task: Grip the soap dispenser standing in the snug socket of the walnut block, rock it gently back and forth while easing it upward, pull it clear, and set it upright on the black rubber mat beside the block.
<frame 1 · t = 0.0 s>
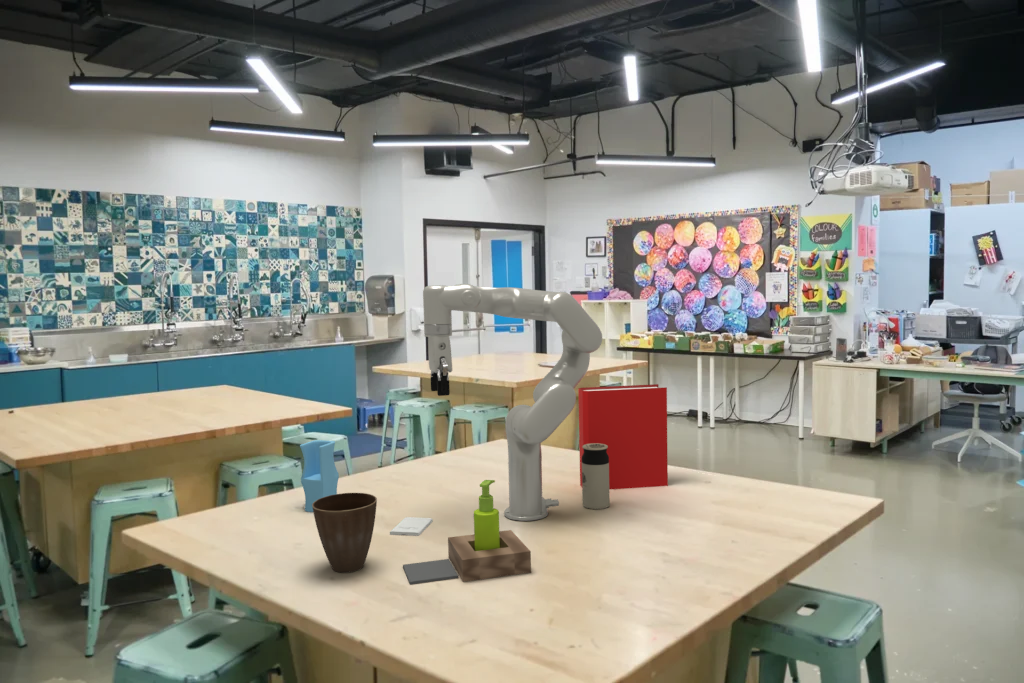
hand: (440, 393, 208), 37 cm above the table, tool pointing down, fingers open, 9 cm apart
light blue angular piece: (321, 509, 229), on the table
soap dispenser: (488, 565, 180), resting in socket block
external hard drive: (411, 530, 209), on the table
travel mug: (596, 506, 225), on the table
rubber mat: (430, 572, 176), on the table
socket block: (488, 564, 180), on the table
plant pot: (347, 568, 180), on the table
book: (623, 485, 247), on the table
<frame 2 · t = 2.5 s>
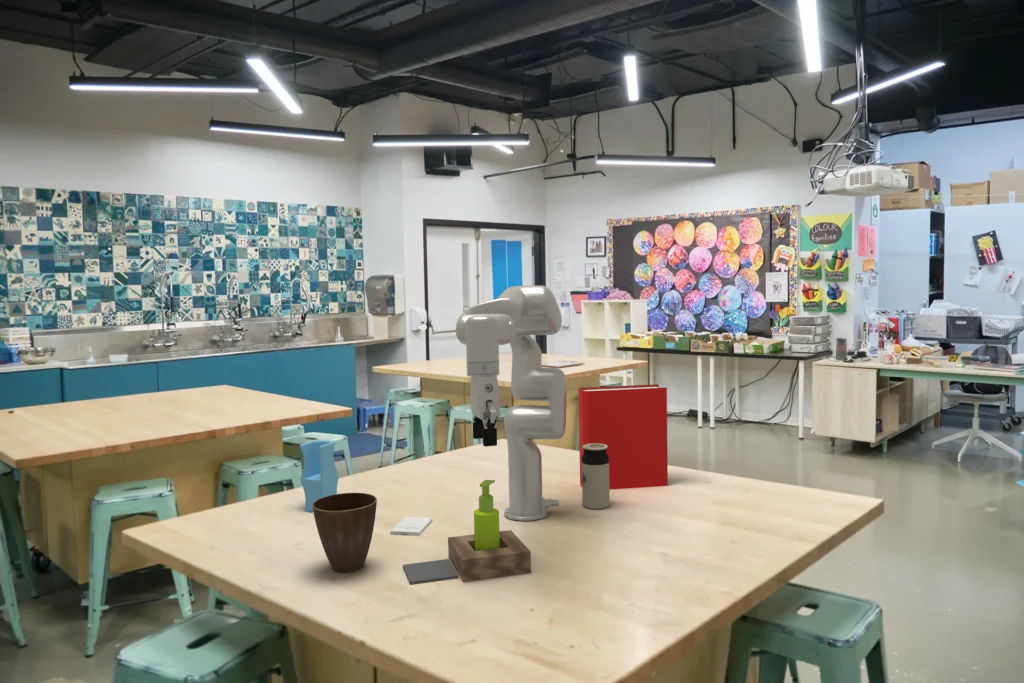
hand: (484, 442, 177), 30 cm above the table, tool pointing down, fingers open, 9 cm apart
nothing on the table moved.
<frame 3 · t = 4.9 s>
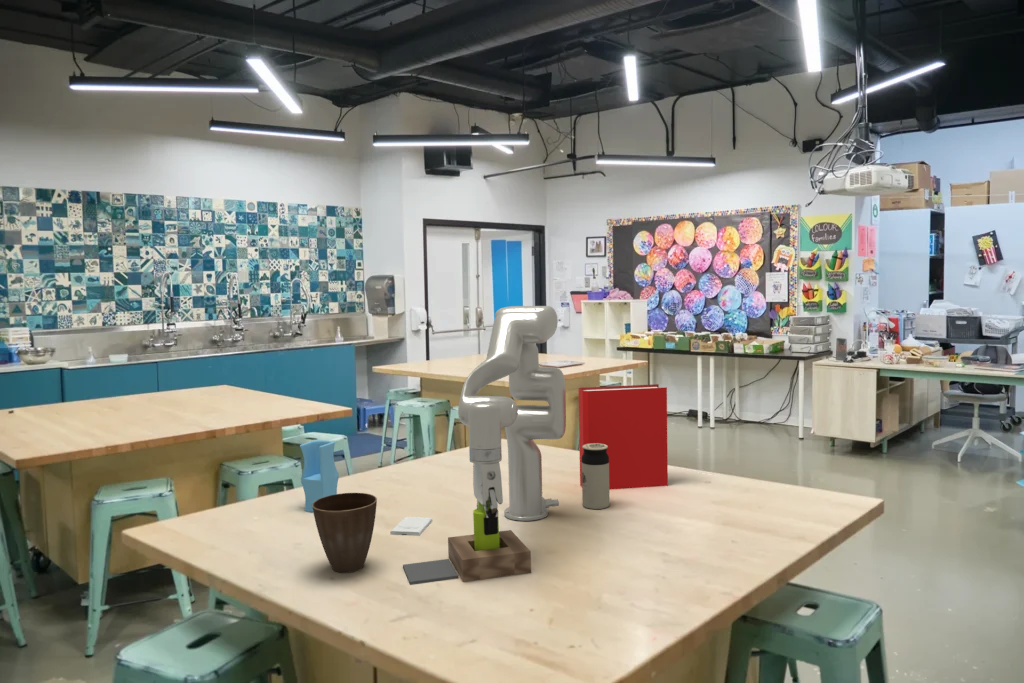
hand: (487, 529, 179), 9 cm above the table, tool pointing down, fingers closed on soap dispenser, 5 cm apart
soap dispenser: (488, 565, 180), resting in socket block, touching gripper
everything else where it was.
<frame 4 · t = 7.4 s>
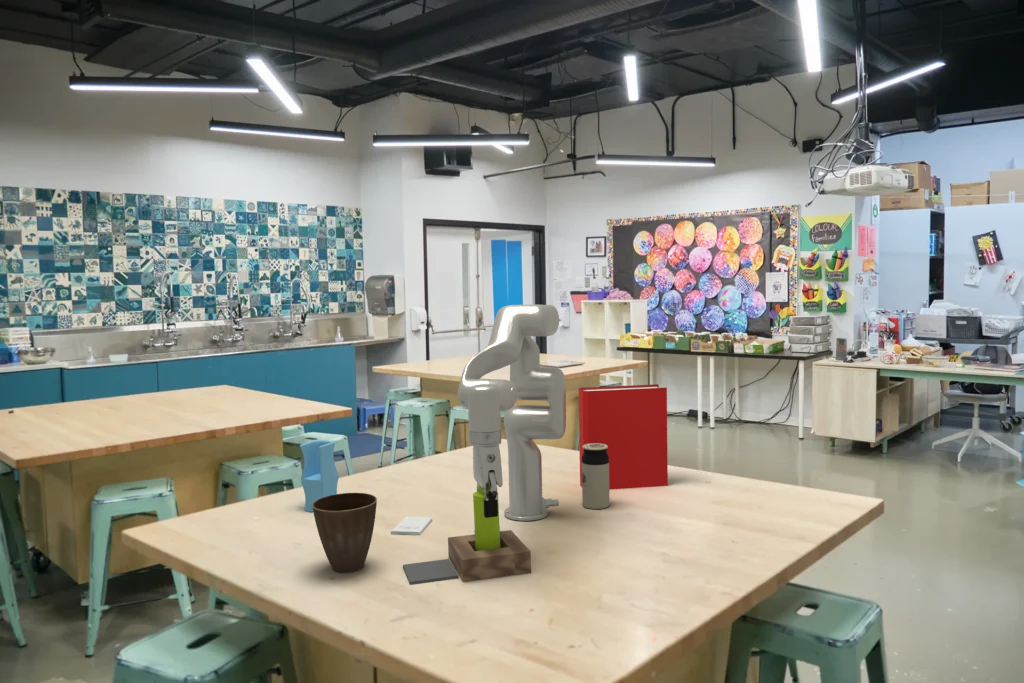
hand: (487, 511, 179), 13 cm above the table, tool pointing down, fingers closed on soap dispenser, 5 cm apart
soap dispenser: (488, 548, 180), point 4 cm above the table, touching gripper
everything else where it was.
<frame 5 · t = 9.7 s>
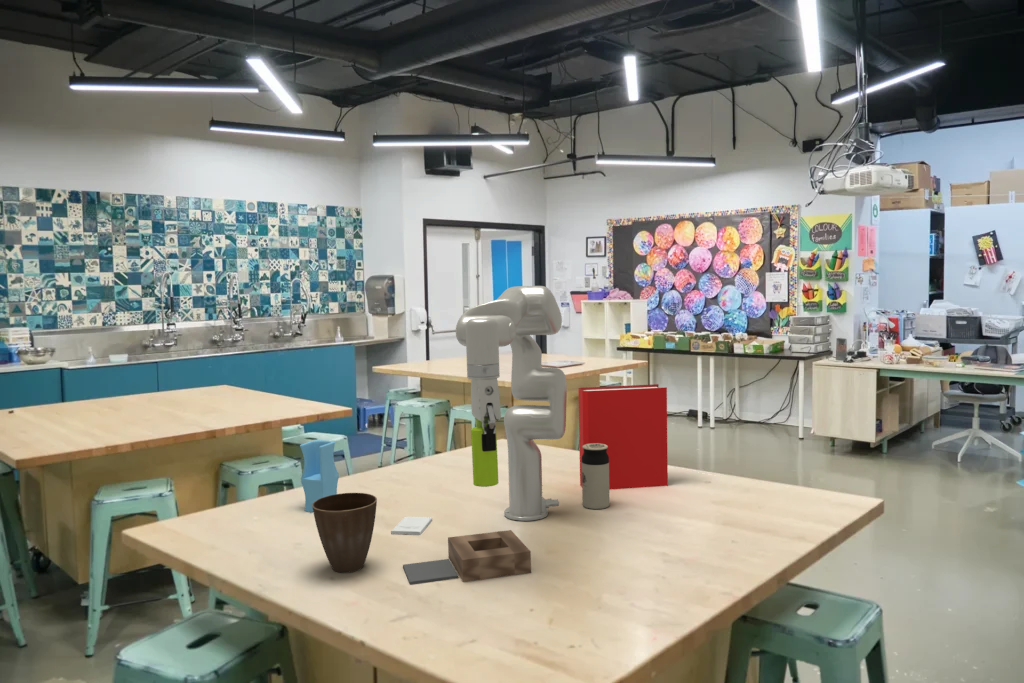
hand: (485, 447, 178), 28 cm above the table, tool pointing down, fingers closed on soap dispenser, 5 cm apart
soap dispenser: (486, 483, 179), point 19 cm above the table, touching gripper
everything else where it was.
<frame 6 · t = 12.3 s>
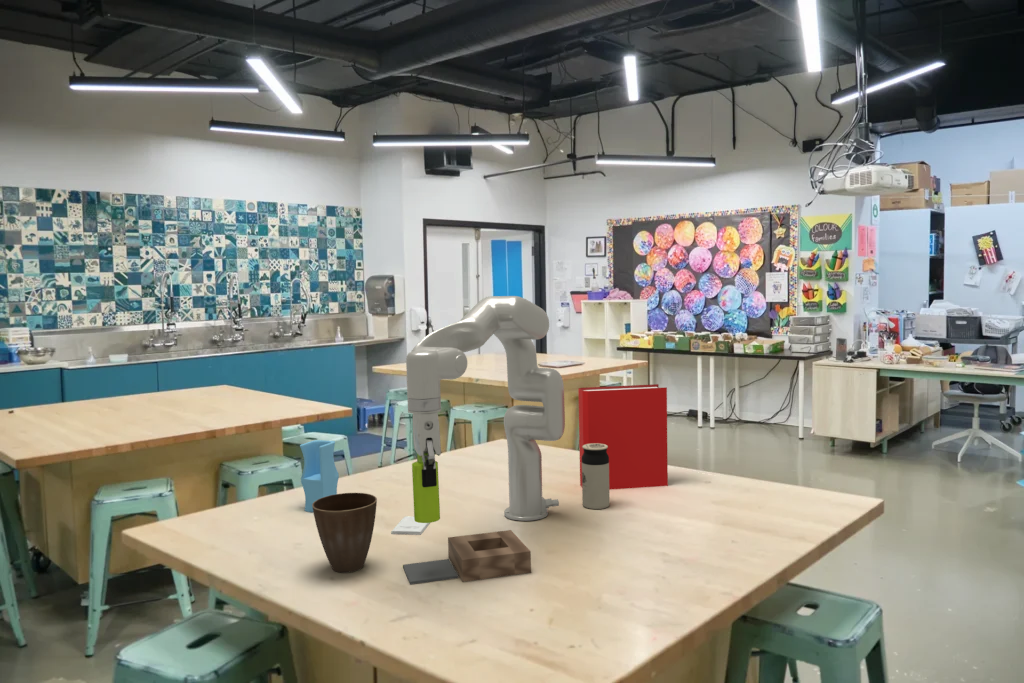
hand: (426, 482, 174), 21 cm above the table, tool pointing down, fingers closed on soap dispenser, 5 cm apart
soap dispenser: (428, 519, 175), point 12 cm above the table, touching gripper
everything else where it was.
when the fingers open (10 cm above the table, at t = 14.7 s): soap dispenser drops 1 cm, resting on rubber mat.
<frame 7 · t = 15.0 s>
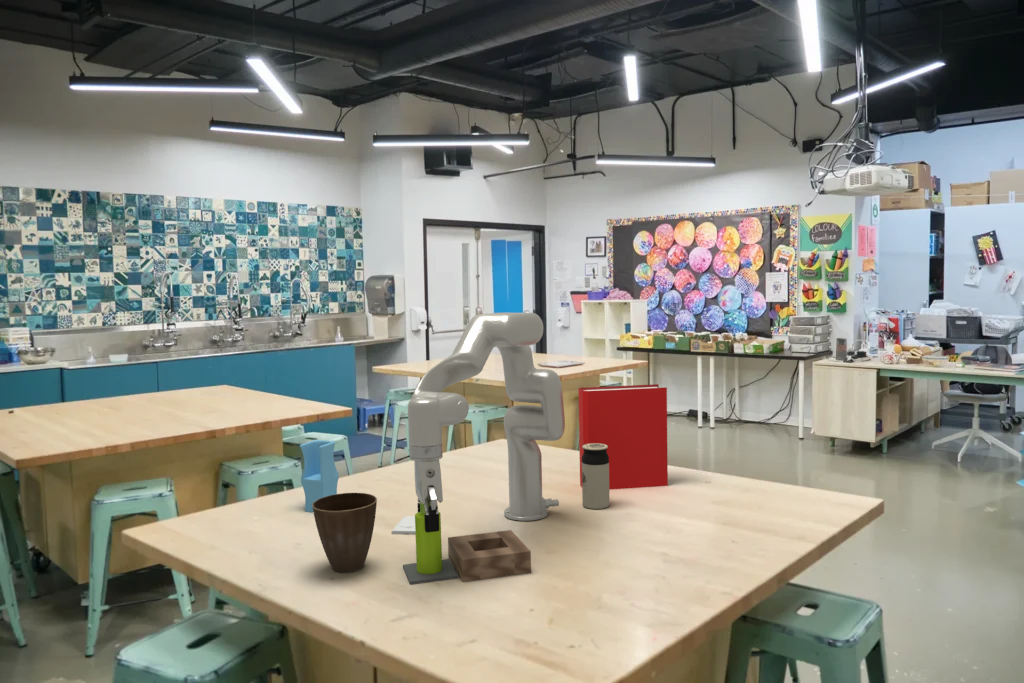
hand: (428, 525, 175), 11 cm above the table, tool pointing down, fingers open, 9 cm apart
soap dispenser: (430, 569, 176), resting on rubber mat
everything else where it was.
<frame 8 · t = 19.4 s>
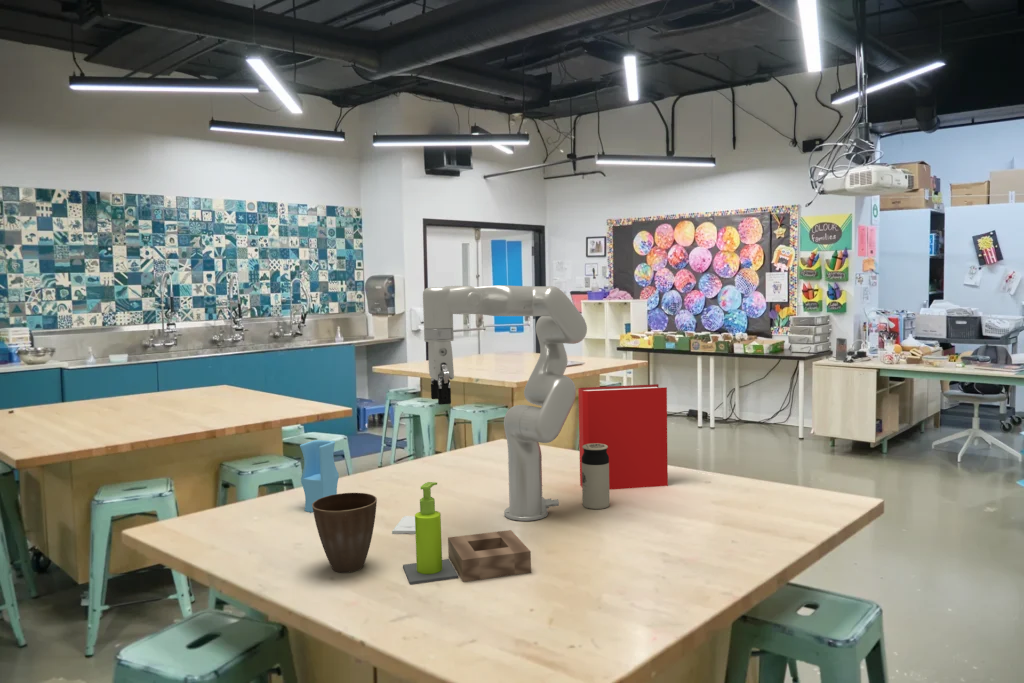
hand: (440, 401, 196), 36 cm above the table, tool pointing down, fingers open, 9 cm apart
at the end: soap dispenser inside the target area (0.8 cm from its centre), resting on rubber mat; soap dispenser tilted 0°; the gripper is holding nothing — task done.
